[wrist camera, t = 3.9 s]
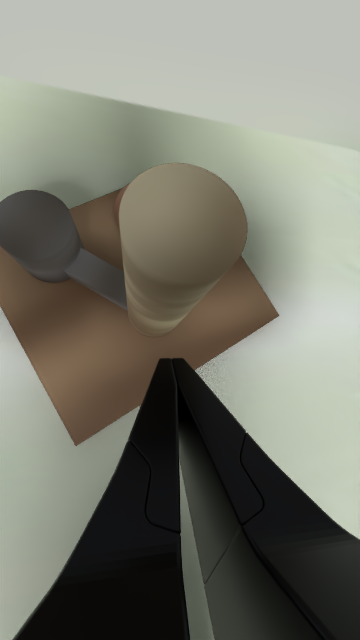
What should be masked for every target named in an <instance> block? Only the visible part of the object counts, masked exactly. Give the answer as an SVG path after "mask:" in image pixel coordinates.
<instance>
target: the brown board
mask: <svg viewBox="0 0 360 640" xmlns="http://www.w3.org/2000/svg"><path fill="white" fill-rule="evenodd" d="M129 184H130V183H129ZM129 184H128V185H126V186H125V187H124V188H122V189H120V190H117V191H115V192H112V193H110V194H107V195H105V196H102V197H99V198H97V199H94V200H92V201H89V202H87V203H84V204H82V205H79V206H77V207H74V208H72V209H69V211H70V213H71V216H72V219H73V221H74V224H75V226H76V229H77V231H78V234H79V236H80V239H81V241H82V244H83V246H84V249H85V250H86V251H88V252H90V253H91V254H93V255H95V256H96V257H98V258H100V259H102V260H103V261H105V262H107V263H108V264H110V265H112V266H114V267H115V268H117V269H119V270H120V271H122V272H124V266H123V256H122V246H121V235H120V225H119V208H120V203H121V199H122V197H123V195H124V192H125V190H126V189H127V187H128V186H129ZM0 306H1V308H2V310H3V312H4V314H5V316H6V317H7V319H8V321H9V323H10V325H11V327H12V329H13V330H14V332H15V334H16V336H17V338H18V340H19V342H20V343H21V345H22V347H23V349H24V351H25V353H26V355H27V356H28V358H29V360H30V362H31V364H32V366H33V368H34V369H35V371H36V373H37V375H38V377H39V379H40V381H41V383H42V384H43V386H44V388H45V390H46V392H47V394H48V396H49V397H50V399H51V401H52V403H53V405H54V407H55V409H56V410H57V412H58V414H59V416H60V418H61V420H62V422H63V423H64V425H65V427H66V429H67V431H68V433H69V435H70V436H71V438H72V440H73V442H74V444H75V446H77V445H78V444H80V443H81V442H83V441H85V440H86V439H88V438H89V437H91V436H92V435H94V434H96V433H97V432H99V431H100V430H102V429H103V428H105V427H106V426H108V425H110V424H111V423H113V422H114V421H116V420H117V419H119V418H120V417H122V416H124V415H125V414H127V413H128V412H130V411H131V410H133V409H135V408H136V407H138V406H139V405H141V404H142V402H143V399H144V397H145V394H146V391H147V389H148V386H149V384H150V381H151V378H152V376H153V373H154V371H155V368H156V365H157V363H158V360H159V359H160V358H171V359H172V358H184V359H185V360H186V361H187V362H188V364H189V365H190V366H191V367H192V368H193V369H194V370H195V369H197V368H199V367H200V366H202V365H203V364H205V363H206V362H208V361H209V360H211V359H213V358H214V357H216V356H217V355H219V354H220V353H222V352H224V351H225V350H227V349H228V348H230V347H231V346H233V345H234V344H236V343H238V342H239V341H241V340H242V339H244V338H245V337H247V336H249V335H250V334H252V333H253V332H255V331H256V330H258V329H259V328H261V327H263V326H264V325H266V324H267V323H269V322H270V321H272V320H274V319H275V318H277V317H278V316H279V314H278V313H277V311H276V310H275V308H274V306H273V305H272V303H271V302H270V300H269V299H268V297H267V295H266V294H265V292H264V291H263V289H262V288H261V286H260V284H259V283H258V281H257V280H256V278H255V277H254V275H253V273H252V272H251V270H250V269H249V267H248V266H247V264H246V262H245V261H244V259H243V258H242V256H241V255H240V257H239V258H238V260H237V261H236V262H235V263H234V264H233V266H232V267H231V268H230V269H229V270H228V271H227V272H226V273H225V274H224V275H223V276H222V277H221V278H220V280H219V281H218V282H217V283H216V284H215V285H214V286H213V287H212V288H211V289H210V290H209V291H208V292H207V294H206V295H205V296H204V297H203V298H202V299H201V300H200V301H199V302H198V303H197V304H196V305H195V306H194V308H193V309H192V310H191V311H190V312H189V313H188V314H187V315H186V316H185V317H184V318H183V319H182V320H181V322H180V323H179V324H178V325H177V326H176V327H175V328H174V329H173V330H172V331H171V332H170V333H168V334H166V335H164V336H161V337H147V336H144V335H142V334H140V333H139V332H138V331H136V330H135V329H134V327H133V326H132V325H131V323H130V320H129V317H128V311H127V310H125V309H124V308H122V307H120V306H118V305H117V304H115V303H113V302H111V301H110V300H108V299H106V298H104V297H103V296H101V295H99V294H97V293H96V292H94V291H92V290H90V289H89V288H87V287H85V286H83V285H82V284H80V283H78V282H76V281H75V280H73V279H71V278H70V279H68V280H65V281H62V282H57V283H50V282H44V281H41V280H38V279H36V278H35V277H33V276H32V275H31V274H30V273H29V272H27V271H26V270H25V269H24V268H23V267H22V266H21V265H20V264H19V263H18V262H17V261H16V260H15V259H14V258H13V257H12V256H11V255H9V254H8V253H7V252H6V251H5V250H4V249H3V248H2V247H1V246H0Z"/></svg>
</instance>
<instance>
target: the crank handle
mask: <svg viewBox="0 0 360 640" xmlns="http://www.w3.org/2000/svg"><path fill="white" fill-rule="evenodd" d="M119 225H120V235H121V246H122V256H123V266H124V272H122V271H120V270H119V269H117V268H115V267H114V266H112V265H110V264H108V263H107V262H105V261H103V260H102V259H100V258H98V257H96V256H95V255H93V254H91V253H90V252H88V251H86V250H85V249H84V246H83V244H82V241H81V239H80V236H79V234H78V231H77V229H76V226H75V224H74V221H73V219H72V216H71V213H70V211H69V209H68V208H67V206H66V205H65V204H64V203H63V202H62V201H61V200H60V199H58V198H57V197H55V196H54V195H52V194H49V193H47V192H43V191H37V190H26V191H20V192H17V193H14V194H12V195H10V196H8V197H7V198H5V199H4V200H3V201H2V202H1V203H0V246H1V247H2V248H3V249H4V250H5V251H6V252H7V253H8V254H9V255H11V256H12V257H13V258H14V259H15V260H16V261H17V262H18V263H19V264H20V265H21V266H22V267H23V268H24V269H25V270H26V271H27V272H29V273H30V274H31V275H32V276H33V277H35V278H36V279H38V280H41V281H44V282H50V283H57V282H62V281H65V280H68V279H70V278H71V279H73V280H75V281H76V282H78V283H80V284H82V285H83V286H85V287H87V288H89V289H90V290H92V291H94V292H96V293H97V294H99V295H101V296H103V297H104V298H106V299H108V300H110V301H111V302H113V303H115V304H117V305H118V306H120V307H122V308H124V309H125V310H127V311H128V317H129V320H130V323H131V325H132V326H133V327H134V329H135V330H136V331H138V332H139V333H140V334H142V335H144V336H147V337H161V336H164V335H166V334H168V333H170V332H171V331H172V330H173V329H174V328H175V327H176V326H177V325H178V324H179V323H180V322H181V320H182V319H183V318H184V317H185V316H186V315H187V314H188V313H189V312H190V311H191V310H192V309H193V308H194V306H195V305H196V304H197V303H198V302H199V301H200V300H201V299H202V298H203V297H204V296H205V295H206V294H207V292H208V291H209V290H210V289H211V288H212V287H213V286H214V285H215V284H216V283H217V282H218V281H219V280H220V278H221V277H222V276H223V275H224V274H225V273H226V272H227V271H228V270H229V269H230V268H231V267H232V266H233V264H234V263H235V262H236V261H237V260H238V258H239V257H240V255H241V253H242V251H243V249H244V246H245V243H246V239H247V220H246V215H245V212H244V209H243V206H242V204H241V202H240V200H239V198H238V197H237V195H236V194H235V193H234V191H233V190H232V189H231V188H230V187H229V185H228V184H227V183H225V182H224V181H223V180H222V179H221V178H219V177H218V176H216V175H215V174H213V173H212V172H210V171H208V170H206V169H203V168H201V167H198V166H194V165H190V164H184V163H168V164H162V165H158V166H155V167H152V168H150V169H148V170H146V171H144V172H143V173H141V174H139V175H138V176H137V177H136V178H135V179H134V180H133V181H132V182H131V183H130V184H129V186H128V187H127V189H126V190H125V192H124V195H123V197H122V199H121V203H120V208H119Z"/></svg>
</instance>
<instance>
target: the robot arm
mask: <svg viewBox="0 0 360 640" xmlns="http://www.w3.org/2000/svg"><path fill="white" fill-rule="evenodd" d="M179 460H180V465H181V470H182V475H183V480H184V485H185V490H186V495H187V500H188V506H189V511H190V516H191V521H192V526H193V531H194V536H195V541H196V546H197V551H198V557H199V562H200V567H201V572H202V577H203V582H204V584H205V586H204V588H205V593H206V598H207V603H208V608H209V613H210V618H211V623H212V628H213V634H214V639H215V640H360V539H358V538H356V537H355V536H353V535H352V534H350V533H349V532H348V531H346V530H345V529H343V528H342V527H341V526H340V525H338V524H337V523H336V522H335V521H334V520H333V519H331V518H330V517H329V516H328V515H327V514H326V513H325V512H324V511H323V510H322V509H321V508H320V507H319V506H318V505H317V504H316V503H315V502H314V501H313V500H312V499H311V498H310V497H309V496H308V495H307V494H306V493H304V492H303V491H302V490H301V489H300V488H299V487H298V486H297V485H296V484H295V483H294V482H293V481H292V480H291V479H290V478H289V477H288V476H287V475H286V474H285V473H284V472H283V471H282V470H281V469H280V468H279V467H278V466H277V465H276V464H275V463H274V462H273V461H272V460H271V459H270V458H269V457H268V455H267V454H266V453H265V452H264V451H263V450H262V449H261V448H260V447H259V445H258V444H257V443H256V442H255V441H254V440H253V439H252V437H251V436H250V435H249V434H248V433H246V430H245V429H244V428H243V427H242V426H241V425H240V423H239V422H238V421H237V420H236V419H235V418H234V416H233V415H232V414H231V413H230V412H229V410H228V409H227V408H226V407H225V406H224V405H223V403H222V402H221V401H220V400H219V399H218V398H217V396H216V395H215V394H214V393H213V392H212V391H211V389H210V388H209V387H208V386H207V385H206V384H205V382H204V381H203V380H202V379H201V378H200V376H199V375H198V374H197V373H196V372H195V371H194V369H193V368H192V367H191V366H190V365H189V364H188V362H187V361H186V360H185V359H184V358H172V359H171V358H160V359H159V360H158V363H157V365H156V368H155V371H154V373H153V376H152V378H151V381H150V384H149V386H148V389H147V391H146V394H145V397H144V399H143V402H142V404H141V407H140V410H139V412H138V415H137V417H136V420H135V423H134V425H133V428H132V430H131V433H130V436H129V438H128V441H127V443H126V446H125V448H124V451H123V453H122V456H121V458H120V460H119V463H118V465H117V467H116V470H115V472H114V474H113V476H112V478H111V480H110V482H109V484H108V486H107V488H106V490H105V492H104V494H103V496H102V498H101V500H100V502H99V504H98V506H97V507H96V509H95V511H94V513H93V515H92V517H91V519H90V521H89V522H88V524H87V526H86V528H85V530H84V532H83V534H82V536H81V537H80V539H79V541H78V543H77V545H76V547H75V549H74V550H73V552H72V554H71V556H70V557H69V559H68V561H67V563H66V564H65V566H64V568H63V569H62V571H61V573H60V574H59V576H58V577H57V579H56V581H55V582H54V584H53V585H52V587H51V588H50V590H49V591H48V592H47V594H46V595H45V596H44V598H43V599H42V600H41V602H40V603H39V604H38V606H37V607H36V608H35V610H34V611H33V613H32V614H31V615H30V617H29V618H28V619H27V621H26V622H25V623H24V625H23V626H22V627H21V629H20V630H19V631H18V633H17V634H16V635H15V637H14V638H13V639H12V640H190V634H189V626H188V617H187V608H186V599H185V590H184V581H183V572H182V557H181V536H180V533H181V523H180V477H179Z"/></svg>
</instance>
